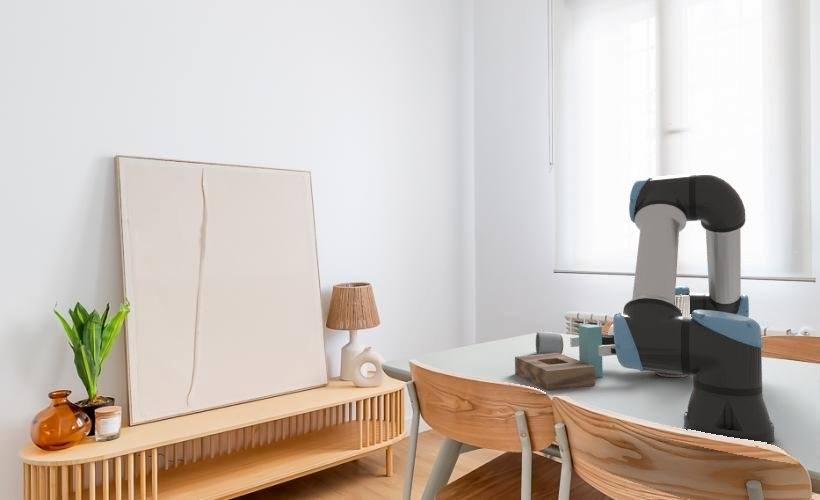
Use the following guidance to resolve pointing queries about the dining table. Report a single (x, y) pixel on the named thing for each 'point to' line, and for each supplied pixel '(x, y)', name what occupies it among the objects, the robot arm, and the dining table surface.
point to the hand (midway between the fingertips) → (584, 346)
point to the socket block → (555, 371)
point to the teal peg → (591, 347)
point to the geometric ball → (611, 330)
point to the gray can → (549, 343)
